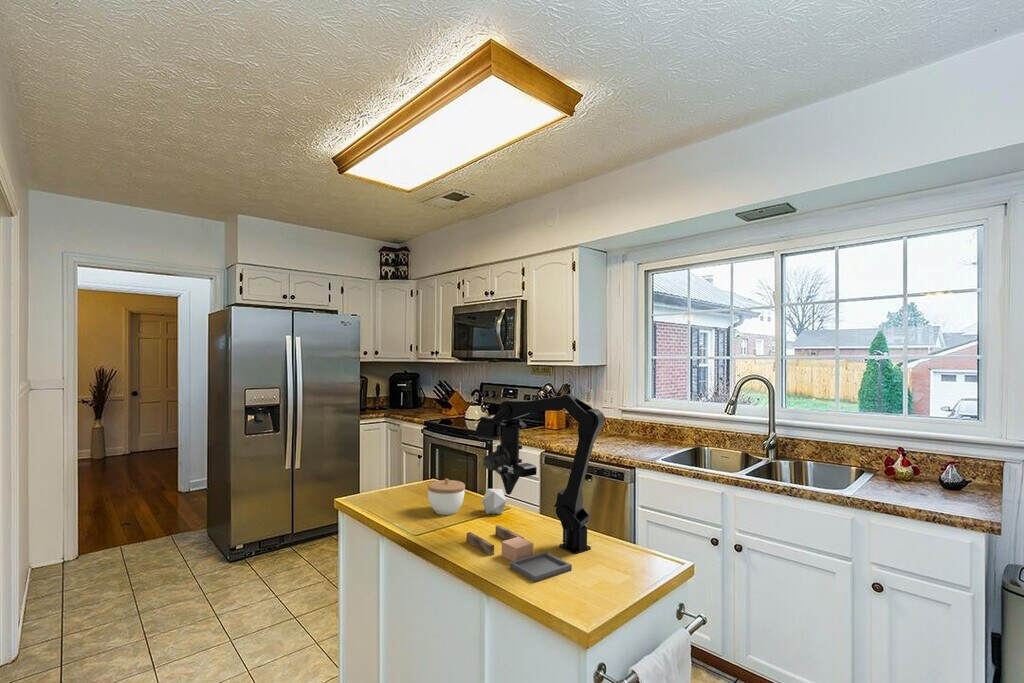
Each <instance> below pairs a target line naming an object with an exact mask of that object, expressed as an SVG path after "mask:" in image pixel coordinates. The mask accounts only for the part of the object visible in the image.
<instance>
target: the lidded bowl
mask: <svg viewBox="0 0 1024 683" xmlns="http://www.w3.org/2000/svg"><path fill="white" fill-rule="evenodd" d="M465 489H466V484H465V483H464V482H462V481H459V480H453V479H452V480H451V479H449V478H444V479H441V480H435V481H432V482H429V483H428V484H427V497H428V498H427V499H428V502H429V505H430V507H431V508H432V509H433V510H434V512H435V513H436V514H437V515H440V516H442V515H444V516H450V515H454V514H456V513H457V511H458V510H459V509H460V508H461V506H462V505H463V502H464V499H465V494H466V493H465Z"/></svg>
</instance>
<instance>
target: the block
mask: <svg viewBox="0 0 1024 683" xmlns="http://www.w3.org/2000/svg"><path fill="white" fill-rule="evenodd" d="M532 555H534V542H532V541H530V540H527V539H525V538H524V539H523V538H520V537H516V538H512V539H509V540H503V541H501V557H503V558H504V559H507V560H509V561H510V562H512V561H515V560H519V559H522V558H525V557H529V556H532Z"/></svg>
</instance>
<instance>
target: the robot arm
mask: <svg viewBox="0 0 1024 683" xmlns="http://www.w3.org/2000/svg"><path fill="white" fill-rule="evenodd" d="M497 409H498V410H497V412H496V413H495V415H494V416H493V417H489V416H480V417H479V421H478V423H477V426H476V428H475V434H476V437H477V439H479V440H489V441H497V440H499V438H500V441H499V442H500V443H499V444H497V446H496V448H495V451H493V452H491V453H489V454H487V455H486V456H484V457H483V458H482V459H483V460H482V461H483V466H484V467H485V469H486V470H490V471H493V472H496V473H497V474H498V475H499V476H500V477H501V480H502V483H503V484H502V485H503V487H504V490H505V494H506V495H507V496H509V495H512V492H513V491H514V488H515V486H516V484H517V482H518V480H519V479H520V478H525V477H527V478H528V477H532V476H536V475H537V471H538V469H537V468H538V467H537V466H536V465H535V464H531V463H529V462H525V463H524V462H522V461H523V460H522V458H520V450H523V445H522V444H520V434H521V433H520V432H521V431H520V429H525V428H526V427H527V424H526V423H525V422H523V420H522V419H518V418H521V417H524V416H527V415H529V414H535V413H540V412H548V411H555V410H563V409H564V410H565V411H566V412H567V413H568V414H569V415H570V416H571V417H572V418H573V420H575V421H576V422H577V437H578V442H577V445H576V449H575V454H574V457H573V461H572V465H571V468H570V473H569V477H568V481H567V484H566V488H563V489H562V490H560V491H559V492H557V495H556V502H555V504H554V505H553V506H554V508H555V515H556V517H557V518H558V519H559V522H560V525H561V528H562V543H560V544H559V547H560V548H562V549H563V550H566V551H568V552H571V553H572V554H579V553H583V552H585V551H588V550H591V548H592V546H590V545H588V527H586V524H588V523H589V519H590V518H591V516H590V514H589V513H588V512H587V511H586V509H584V507H583V505H584V504H583V502H584V498H583V497H584V496H583V486H584V483H585V478H586V475H587V471H588V467H589V464H590V459H591V456H592V453H593V448H594V444H595V441H596V440H597V438H598V436H599V435H600V433H601V431H602V429H603V426H604V425H605V422H606V417H605V415H604V413H603V412H602V411H601V410H600V409H597V408H593V407H592V406H591V405H589V404H587V403H585V402H584V401H582V400H581V399H579V398H577V397H576V395H574V394H571V393H568V394H564V395H560V396H553V397H546V398H539V399H534V400H527V399H510V400H508V399H507V400H503V401H502V402H500V404H499V405H498V408H497ZM515 419H517V421H513V420H515ZM506 421H507V422H506ZM503 422H506V423H503Z"/></svg>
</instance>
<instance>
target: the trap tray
mask: <svg viewBox="0 0 1024 683" xmlns="http://www.w3.org/2000/svg"><path fill="white" fill-rule="evenodd" d="M509 568H510V569H511V570H512V571H514V572H517V574H520V575H522V576H523V577H525V578H527V579H528V580H530V581H532V582H533V583H538V582H541V581H544V580H547V579H549V578H552V577H555V576H556V577H557V576H559V575H561V574H564V573H565V574H566V573H569V572H570V571H572V568H573V567H572V564H571V563H569V562H567V561H565V560H563V559H561V558H559V557H558V556H555V555H553V554H552V553H549V552H547V551H543V552H540V553H537V554H533V555H532V556H529V557H525V558H522V559H519V560H515V561H510V562H509Z"/></svg>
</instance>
